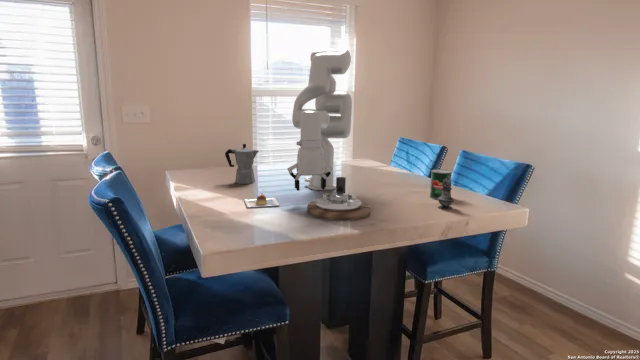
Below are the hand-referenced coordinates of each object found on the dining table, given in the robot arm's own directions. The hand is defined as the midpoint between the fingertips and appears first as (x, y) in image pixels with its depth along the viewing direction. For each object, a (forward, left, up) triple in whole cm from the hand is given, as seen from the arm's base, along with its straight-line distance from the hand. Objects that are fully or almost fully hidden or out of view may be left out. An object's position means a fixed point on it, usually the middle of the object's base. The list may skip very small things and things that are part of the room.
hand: (310, 189), depth 161 cm
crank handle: (+13, -3, -3) cm, 14 cm away
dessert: (-16, -9, -6) cm, 19 cm away
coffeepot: (-46, +20, -6) cm, 50 cm away
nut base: (+14, -6, -5) cm, 16 cm away
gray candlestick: (+47, +17, -6) cm, 50 cm away
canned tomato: (+42, +33, -6) cm, 54 cm away
